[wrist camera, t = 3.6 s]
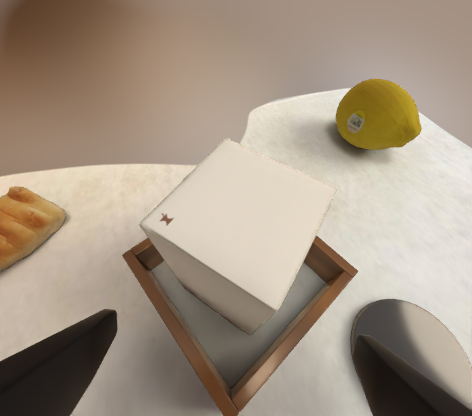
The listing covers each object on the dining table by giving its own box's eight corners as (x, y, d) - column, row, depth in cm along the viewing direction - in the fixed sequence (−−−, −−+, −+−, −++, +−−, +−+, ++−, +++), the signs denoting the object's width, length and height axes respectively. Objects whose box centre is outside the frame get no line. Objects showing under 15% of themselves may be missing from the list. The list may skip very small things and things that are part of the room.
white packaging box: (250, 338, 19) (276, 321, 8) (182, 288, 21) (131, 221, 10) (289, 266, 22) (343, 186, 11) (227, 229, 24) (224, 133, 13)
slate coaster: (442, 476, 15) (449, 481, 14) (328, 353, 18) (331, 353, 18) (487, 365, 18) (495, 365, 17) (384, 279, 21) (387, 278, 21)
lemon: (316, 123, 34) (337, 68, 27) (359, 115, 36) (389, 60, 29) (357, 175, 29) (396, 121, 22) (406, 162, 30) (457, 108, 23)
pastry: (-2, 296, 20) (-47, 286, 17) (-52, 268, 21) (-103, 253, 18) (76, 214, 25) (52, 194, 22) (31, 195, 26) (3, 173, 23)
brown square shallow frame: (229, 409, 16) (229, 425, 13) (138, 269, 22) (121, 254, 18) (338, 283, 21) (358, 271, 18) (242, 195, 27) (244, 173, 23)
